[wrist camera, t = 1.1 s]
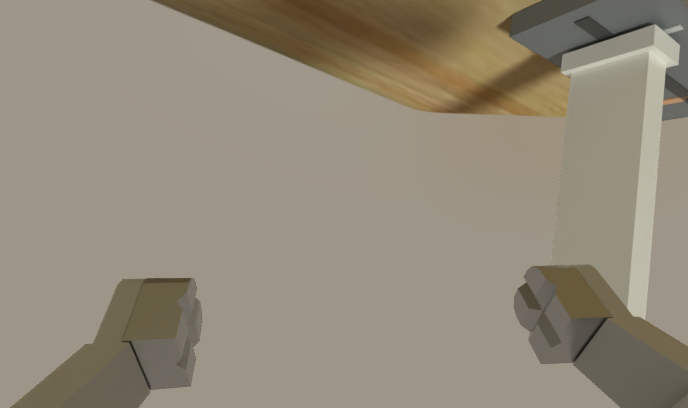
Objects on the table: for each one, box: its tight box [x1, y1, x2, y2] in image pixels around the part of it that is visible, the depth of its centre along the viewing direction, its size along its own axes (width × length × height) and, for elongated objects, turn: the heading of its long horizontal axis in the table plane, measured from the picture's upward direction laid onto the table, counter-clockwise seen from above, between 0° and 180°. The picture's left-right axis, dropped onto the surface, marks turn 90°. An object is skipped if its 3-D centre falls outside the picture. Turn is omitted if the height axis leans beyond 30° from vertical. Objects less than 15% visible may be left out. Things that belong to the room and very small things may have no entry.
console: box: [510, 0, 688, 121], centre depth 28 cm, size 19×8×2 cm, turn 59°
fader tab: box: [551, 24, 680, 320], centre depth 24 cm, size 3×5×18 cm, turn 149°
